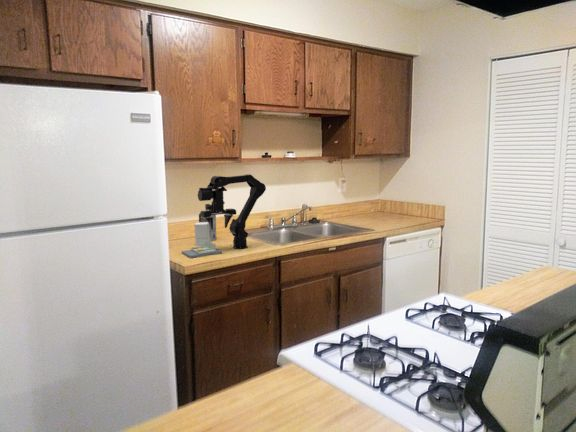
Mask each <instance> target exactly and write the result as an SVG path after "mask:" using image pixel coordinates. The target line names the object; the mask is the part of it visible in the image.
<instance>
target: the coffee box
mask: <svg viewBox="0 0 576 432" xmlns="http://www.w3.org/2000/svg"><path fill="white" fill-rule="evenodd" d="M216 216H217V215H211V217H213V230H212V229H211V227H210V225H209V236H210V242H212V241H217V217H216ZM198 222H208V220H207V219H206V218H204V217H201V216H200V213H199V214H198Z"/></svg>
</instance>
